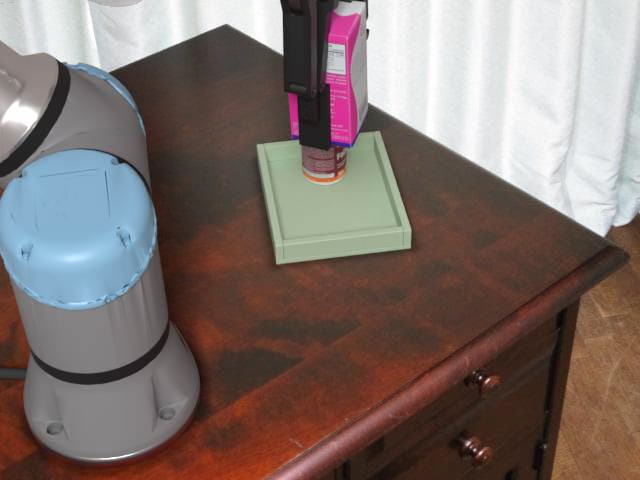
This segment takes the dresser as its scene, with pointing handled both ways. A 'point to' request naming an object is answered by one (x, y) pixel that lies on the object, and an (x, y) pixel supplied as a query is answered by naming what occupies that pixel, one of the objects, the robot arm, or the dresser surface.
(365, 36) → the supplement box
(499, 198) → the dresser surface
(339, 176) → the pill bottle
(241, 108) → the dresser surface
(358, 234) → the tray
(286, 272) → the dresser surface
